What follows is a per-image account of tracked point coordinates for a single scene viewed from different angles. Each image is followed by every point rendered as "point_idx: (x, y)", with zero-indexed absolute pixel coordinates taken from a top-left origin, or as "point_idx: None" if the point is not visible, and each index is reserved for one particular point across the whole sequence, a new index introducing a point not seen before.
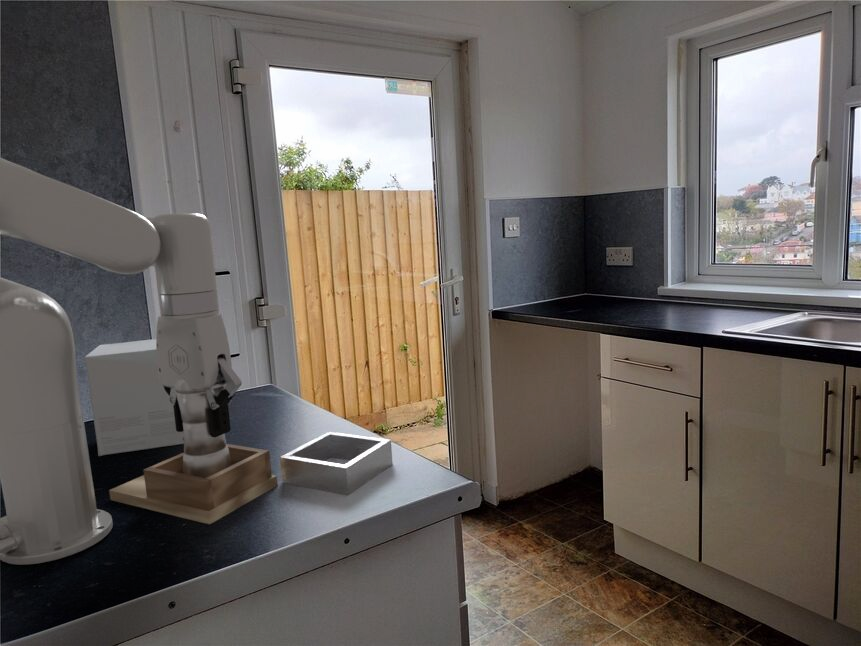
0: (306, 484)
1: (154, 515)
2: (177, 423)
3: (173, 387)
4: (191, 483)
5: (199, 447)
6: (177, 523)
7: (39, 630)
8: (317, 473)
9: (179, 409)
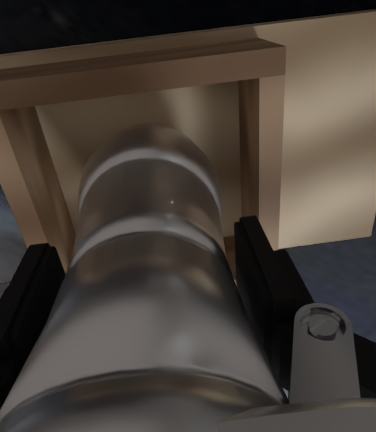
0: (4, 287)
1: (187, 10)
2: (250, 235)
3: (255, 410)
4: (35, 74)
5: (97, 193)
6: (80, 11)
7: None
8: None
9: (258, 293)
